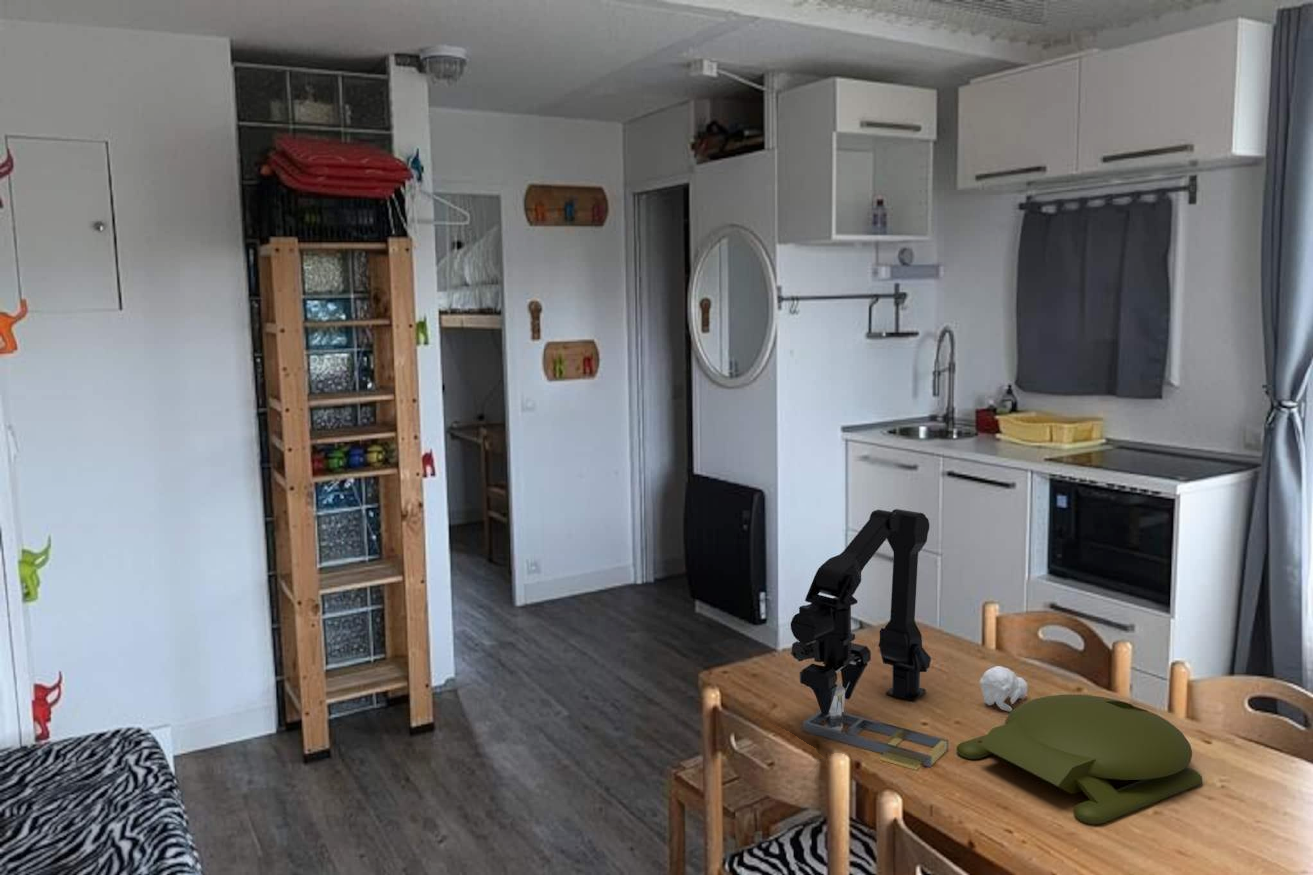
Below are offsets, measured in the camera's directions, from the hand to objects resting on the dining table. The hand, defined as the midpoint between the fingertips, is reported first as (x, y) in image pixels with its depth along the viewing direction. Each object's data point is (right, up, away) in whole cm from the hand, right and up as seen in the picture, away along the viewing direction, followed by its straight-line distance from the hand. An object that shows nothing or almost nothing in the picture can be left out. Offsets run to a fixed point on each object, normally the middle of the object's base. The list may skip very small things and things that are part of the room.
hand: (836, 706), depth 189 cm
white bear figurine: (+37, -3, +11) cm, 39 cm away
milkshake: (0, -5, +1) cm, 5 cm away
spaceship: (+42, -7, -16) cm, 45 cm away
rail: (+6, -5, -4) cm, 9 cm away
